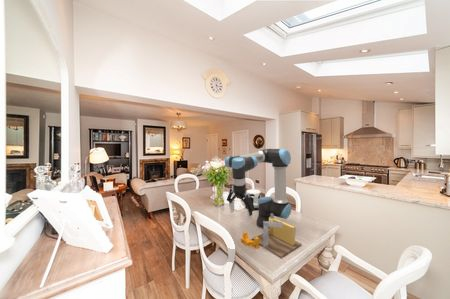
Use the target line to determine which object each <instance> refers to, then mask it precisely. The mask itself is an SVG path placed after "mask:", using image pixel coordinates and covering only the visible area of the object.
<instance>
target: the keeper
mask: <svg viewBox="0 0 450 299" xmlns="http://www.w3.org/2000/svg"><path fill="white" fill-rule="evenodd" d="M282 222H283V221H282ZM282 222H272V221H263V228H262V229H263V232H262V234H263V244H264V247H263V249H265V247H268V231H269V229H268V226H272V227H283V224H282Z"/></svg>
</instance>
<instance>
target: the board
mask: <svg viewBox="0 0 450 299" xmlns="http://www.w3.org/2000/svg"><path fill="white" fill-rule="evenodd" d="M256 237H258V238H259V247H260V246H261V247H262V248H264V244H263V233H261V234H259V235H256V236H255V237H252V238H251V240H252V241H254V238H256ZM302 246H303V245H302V243H300V242H299V241H296V240H295V245H293V246H292V245H290V244H288V243H286V242H285V241H283V240H281V239H279V238H277V237H275V236H273V235H270V234H269V230H268V247H265V248H264V249H265V250H267V251H268V252H270V253H271V254H274V255H275V256H276V257H279V259H283V258H285V257H286V256H288V255H289V254H291V253H292V252H294V251H296V250H297V249H299V248H301V247H302Z"/></svg>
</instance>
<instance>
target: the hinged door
mask: <svg viewBox="0 0 450 299" xmlns="http://www.w3.org/2000/svg"><path fill="white" fill-rule="evenodd" d="M269 221H272V222H282V224H283V227H272V226H269V229H268V231H269V234H270V235H273V236H275V237H277V238H279V239H281V240H283V241H285V242H286V243H288V244H290V245H292V246H293V245H295V241H296V226H294V225H291V224H289V223H287V222H285V221H282V220H279V218H276V217H275V216H274V214H273V213H271V214H270V217H269Z"/></svg>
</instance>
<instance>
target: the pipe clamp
mask: <svg viewBox="0 0 450 299" xmlns="http://www.w3.org/2000/svg"><path fill="white" fill-rule="evenodd" d="M255 237H256V236H255ZM253 238H254V237H253ZM240 243H241V244H242V245H245V246H247V247H250V246H251V247H253V248H255V249H258V248H260V245H259V238H258V237H256V238H254V241H252V238H250V237H249V235H248V232H247V231H243V232H242V237H241V238H240Z"/></svg>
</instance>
